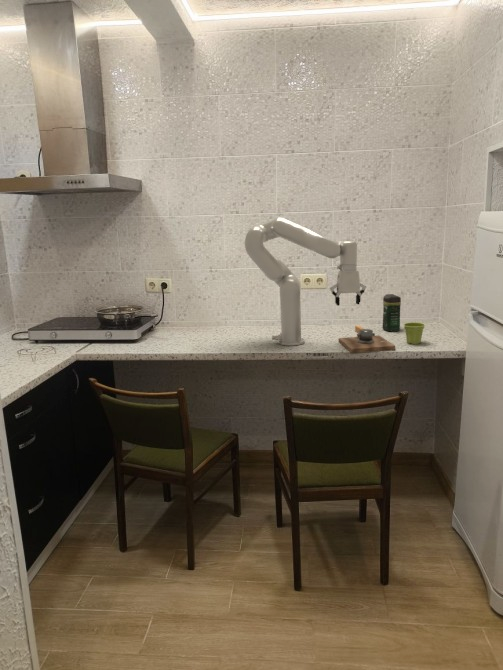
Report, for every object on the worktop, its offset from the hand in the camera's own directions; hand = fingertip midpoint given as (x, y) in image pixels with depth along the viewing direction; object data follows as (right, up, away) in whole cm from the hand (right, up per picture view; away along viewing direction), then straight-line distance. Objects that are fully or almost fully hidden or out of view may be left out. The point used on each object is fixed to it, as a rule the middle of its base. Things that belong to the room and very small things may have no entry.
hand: (347, 304), depth 226 cm
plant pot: (+30, -18, -2) cm, 35 cm away
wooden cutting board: (+8, -19, -4) cm, 21 cm away
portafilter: (+7, -15, 0) cm, 17 cm away
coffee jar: (+28, -12, +24) cm, 39 cm away
